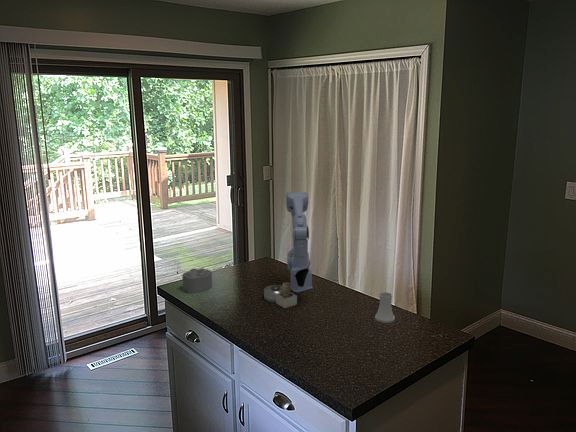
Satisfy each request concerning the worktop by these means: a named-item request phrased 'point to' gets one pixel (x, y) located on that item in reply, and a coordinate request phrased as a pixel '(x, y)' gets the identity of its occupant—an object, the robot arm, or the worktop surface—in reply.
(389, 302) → the vase
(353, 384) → the worktop surface
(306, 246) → the robot arm
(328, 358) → the worktop surface
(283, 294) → the key peg
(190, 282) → the lumpy-topped squat cylinder
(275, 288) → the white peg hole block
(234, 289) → the worktop surface
